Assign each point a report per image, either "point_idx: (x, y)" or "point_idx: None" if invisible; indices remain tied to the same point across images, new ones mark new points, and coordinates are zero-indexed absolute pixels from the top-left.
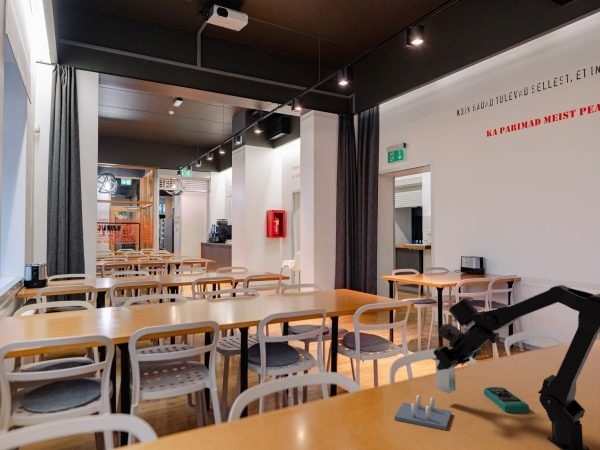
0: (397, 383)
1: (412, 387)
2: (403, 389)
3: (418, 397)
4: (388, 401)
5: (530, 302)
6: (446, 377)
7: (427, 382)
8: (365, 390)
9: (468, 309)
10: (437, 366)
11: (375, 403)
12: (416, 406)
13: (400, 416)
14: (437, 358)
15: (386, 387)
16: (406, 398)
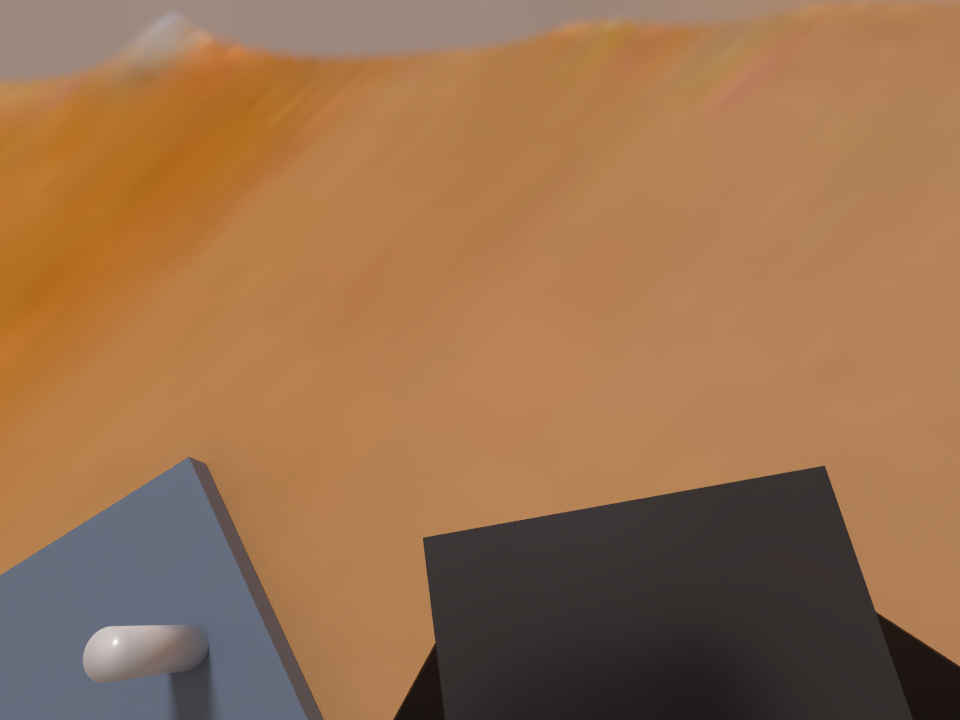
0: (562, 50)
1: (617, 173)
2: (502, 176)
3: (90, 674)
4: (177, 323)
5: None
6: None
7: (867, 136)
8: (213, 70)
9: None
10: (433, 653)
11: (64, 305)
12: (200, 606)
13: None
14: (441, 619)
15: (404, 84)
16: (359, 347)
